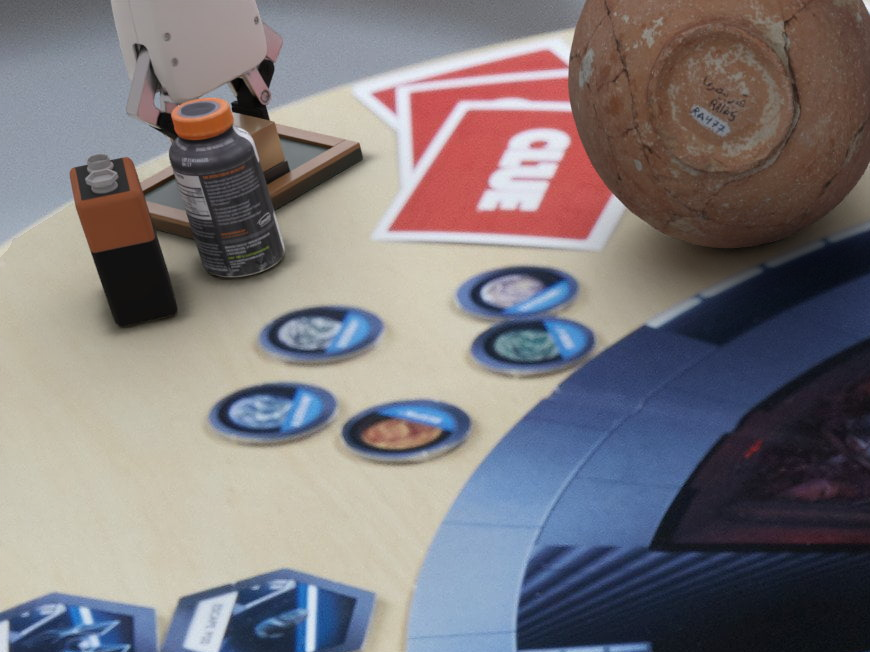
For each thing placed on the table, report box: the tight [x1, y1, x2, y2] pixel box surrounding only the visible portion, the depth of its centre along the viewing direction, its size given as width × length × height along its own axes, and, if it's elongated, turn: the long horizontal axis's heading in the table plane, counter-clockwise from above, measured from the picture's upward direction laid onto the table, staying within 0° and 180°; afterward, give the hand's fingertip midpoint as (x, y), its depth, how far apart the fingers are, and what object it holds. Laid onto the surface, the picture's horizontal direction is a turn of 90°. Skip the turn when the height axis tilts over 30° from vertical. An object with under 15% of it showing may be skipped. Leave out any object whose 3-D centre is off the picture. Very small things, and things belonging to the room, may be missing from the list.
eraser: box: [169, 111, 290, 185], centre depth 180 cm, size 4×8×4 cm, turn 59°
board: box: [140, 122, 364, 240], centre depth 182 cm, size 16×11×1 cm
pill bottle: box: [168, 97, 286, 278], centre depth 169 cm, size 6×6×11 cm
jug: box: [567, 0, 870, 249], centre depth 168 cm, size 22×22×30 cm
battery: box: [69, 153, 178, 328], centre depth 165 cm, size 4×7×10 cm, turn 20°
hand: (233, 169), depth 181 cm, fingers open, 5 cm apart
